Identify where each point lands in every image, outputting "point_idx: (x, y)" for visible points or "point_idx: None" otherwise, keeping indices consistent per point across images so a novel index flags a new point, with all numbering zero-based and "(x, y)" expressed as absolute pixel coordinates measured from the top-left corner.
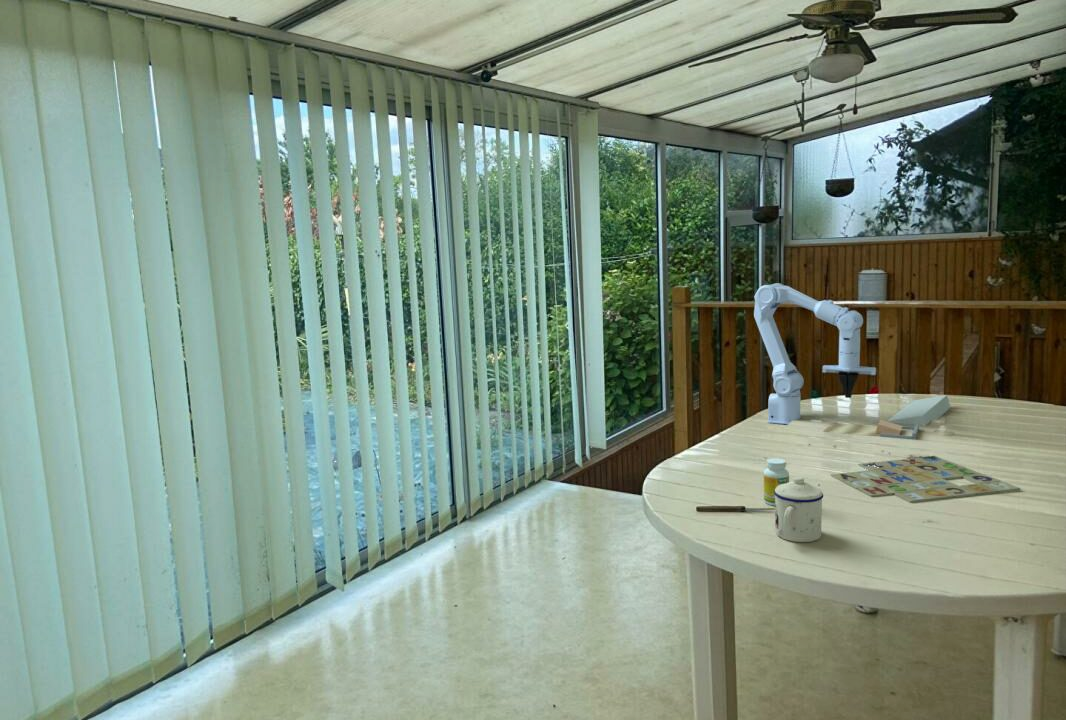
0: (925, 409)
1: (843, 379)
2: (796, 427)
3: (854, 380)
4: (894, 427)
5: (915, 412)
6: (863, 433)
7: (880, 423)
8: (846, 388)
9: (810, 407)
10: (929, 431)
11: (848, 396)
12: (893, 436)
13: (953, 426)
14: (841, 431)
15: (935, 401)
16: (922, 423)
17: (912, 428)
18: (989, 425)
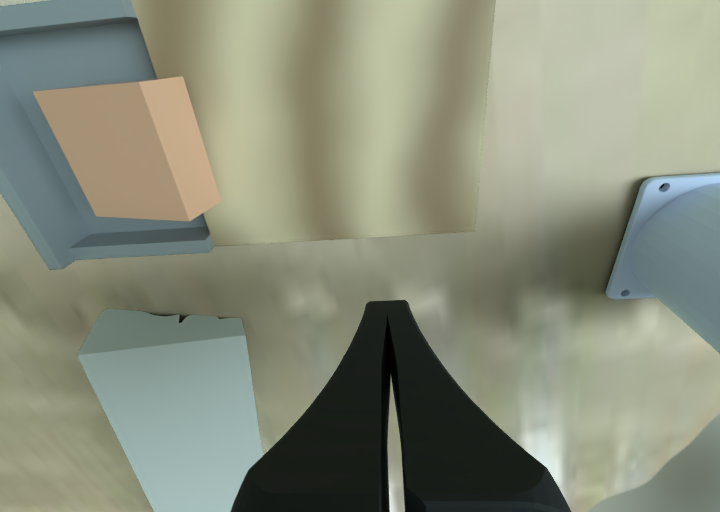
0: (146, 450)
1: (456, 445)
2: (656, 137)
3: (286, 441)
4: (81, 131)
5: (170, 424)
6: (242, 32)
7: (144, 121)
8: (401, 353)
9: (566, 459)
10: (90, 305)
11: (380, 306)
12: (43, 3)
13: (75, 387)
14: (379, 19)
15: None
16: (99, 329)
17: (85, 244)
18: (11, 424)
